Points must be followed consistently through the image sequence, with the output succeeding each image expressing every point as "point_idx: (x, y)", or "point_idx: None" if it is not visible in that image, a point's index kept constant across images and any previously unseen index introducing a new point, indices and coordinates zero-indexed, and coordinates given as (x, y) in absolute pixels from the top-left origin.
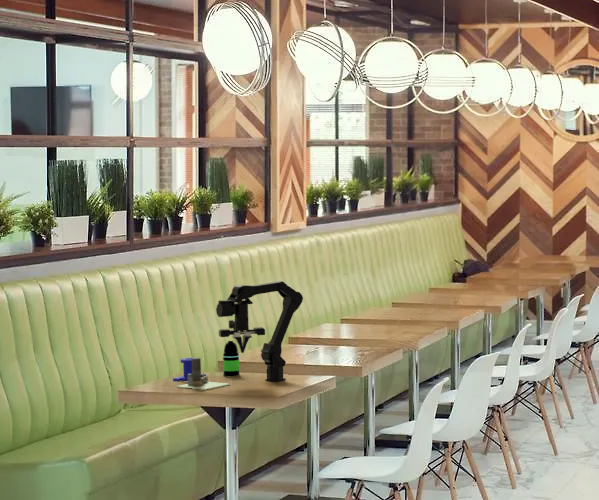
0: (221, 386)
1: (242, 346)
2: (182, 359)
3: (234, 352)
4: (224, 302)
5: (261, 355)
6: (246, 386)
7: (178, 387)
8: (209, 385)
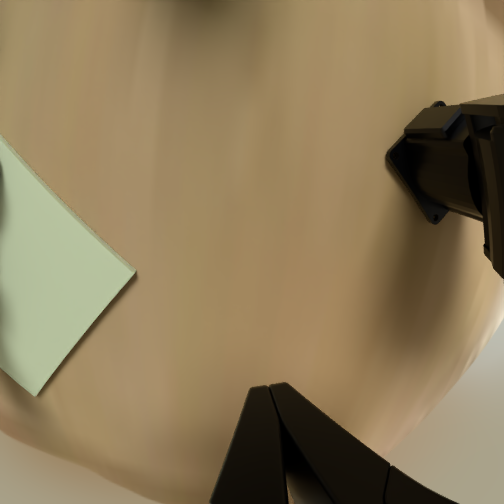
0: (90, 324)
1: (302, 481)
2: None
3: None
4: None
5: (500, 142)
6: (240, 340)
7: None
8: (25, 305)
